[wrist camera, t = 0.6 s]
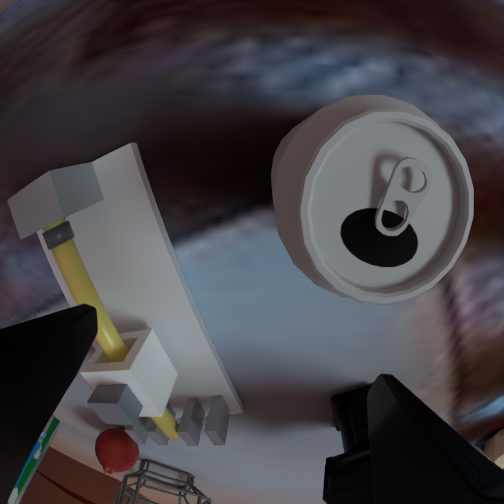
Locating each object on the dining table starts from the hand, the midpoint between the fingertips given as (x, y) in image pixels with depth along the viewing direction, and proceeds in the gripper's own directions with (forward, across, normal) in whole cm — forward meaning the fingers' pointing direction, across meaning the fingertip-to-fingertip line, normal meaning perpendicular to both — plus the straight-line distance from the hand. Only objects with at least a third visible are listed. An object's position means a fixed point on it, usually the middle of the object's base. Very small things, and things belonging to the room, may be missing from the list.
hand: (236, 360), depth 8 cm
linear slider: (+13, +9, +10) cm, 19 cm away
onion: (+14, +11, +30) cm, 35 cm away
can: (+14, -4, -5) cm, 15 cm away
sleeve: (+11, +7, +12) cm, 18 cm away
